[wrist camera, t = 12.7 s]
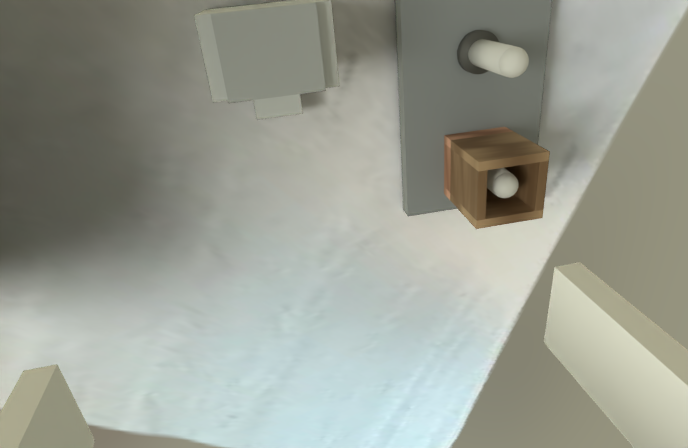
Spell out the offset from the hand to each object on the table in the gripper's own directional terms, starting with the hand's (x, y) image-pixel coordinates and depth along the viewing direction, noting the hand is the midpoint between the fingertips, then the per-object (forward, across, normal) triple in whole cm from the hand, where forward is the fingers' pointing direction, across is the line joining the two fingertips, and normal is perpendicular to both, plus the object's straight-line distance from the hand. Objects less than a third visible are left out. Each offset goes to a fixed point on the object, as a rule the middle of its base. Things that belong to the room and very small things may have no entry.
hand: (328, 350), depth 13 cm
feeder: (+29, +1, +3) cm, 29 cm away
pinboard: (+28, +17, -2) cm, 33 cm away
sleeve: (+27, +17, -6) cm, 32 cm away
